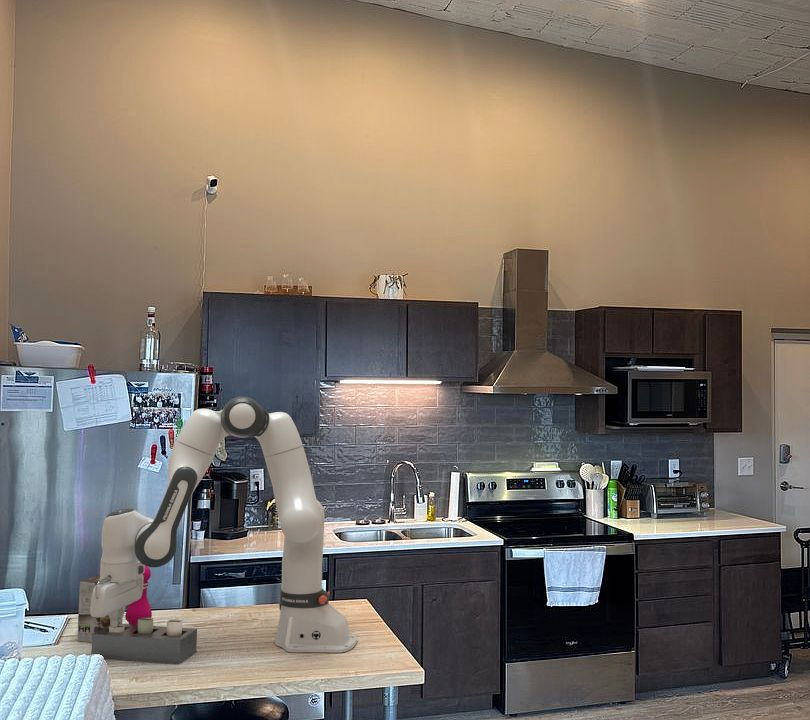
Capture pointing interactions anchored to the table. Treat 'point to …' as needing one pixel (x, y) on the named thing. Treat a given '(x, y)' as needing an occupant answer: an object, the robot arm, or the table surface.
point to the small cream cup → (117, 629)
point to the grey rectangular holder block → (145, 645)
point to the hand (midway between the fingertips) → (116, 625)
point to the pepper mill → (140, 602)
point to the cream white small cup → (174, 628)
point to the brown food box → (88, 611)
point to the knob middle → (145, 626)
